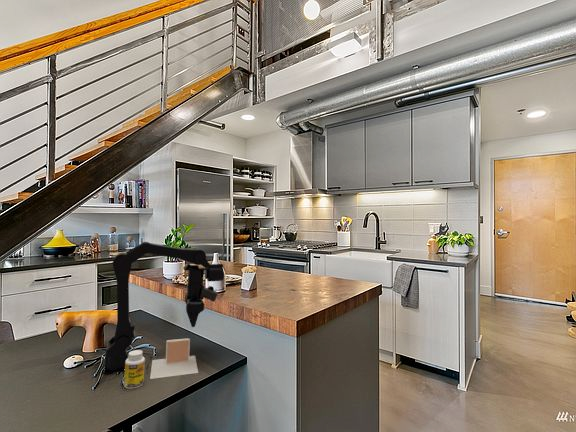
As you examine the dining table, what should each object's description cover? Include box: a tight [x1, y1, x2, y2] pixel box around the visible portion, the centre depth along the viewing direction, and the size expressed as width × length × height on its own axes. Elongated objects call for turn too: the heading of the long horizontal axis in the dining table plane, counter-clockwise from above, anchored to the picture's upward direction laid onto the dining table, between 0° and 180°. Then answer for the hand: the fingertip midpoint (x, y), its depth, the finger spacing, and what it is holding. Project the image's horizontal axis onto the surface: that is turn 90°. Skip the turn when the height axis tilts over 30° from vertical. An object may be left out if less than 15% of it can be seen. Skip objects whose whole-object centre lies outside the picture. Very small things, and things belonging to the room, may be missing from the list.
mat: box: [149, 355, 199, 380], centre depth 110 cm, size 15×14×1 cm
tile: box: [165, 338, 191, 364], centre depth 113 cm, size 8×2×8 cm, turn 111°
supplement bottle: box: [123, 349, 146, 390], centre depth 98 cm, size 6×6×10 cm
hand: (192, 322), depth 118 cm, fingers open, 9 cm apart
